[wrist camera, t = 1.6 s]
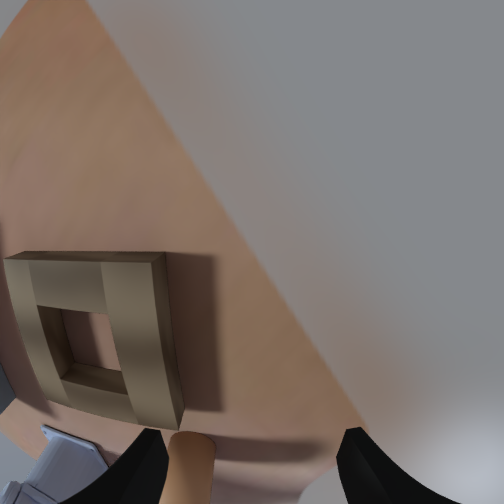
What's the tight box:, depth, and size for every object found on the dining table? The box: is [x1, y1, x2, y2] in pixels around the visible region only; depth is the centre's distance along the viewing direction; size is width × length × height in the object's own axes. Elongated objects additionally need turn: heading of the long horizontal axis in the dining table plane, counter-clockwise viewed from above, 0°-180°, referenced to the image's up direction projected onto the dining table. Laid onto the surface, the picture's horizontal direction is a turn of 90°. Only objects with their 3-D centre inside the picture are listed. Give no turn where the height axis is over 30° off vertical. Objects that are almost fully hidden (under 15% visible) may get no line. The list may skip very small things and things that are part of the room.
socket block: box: [3, 251, 185, 431], centre depth 16 cm, size 12×12×2 cm
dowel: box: [159, 431, 216, 504], centre depth 15 cm, size 4×4×8 cm
